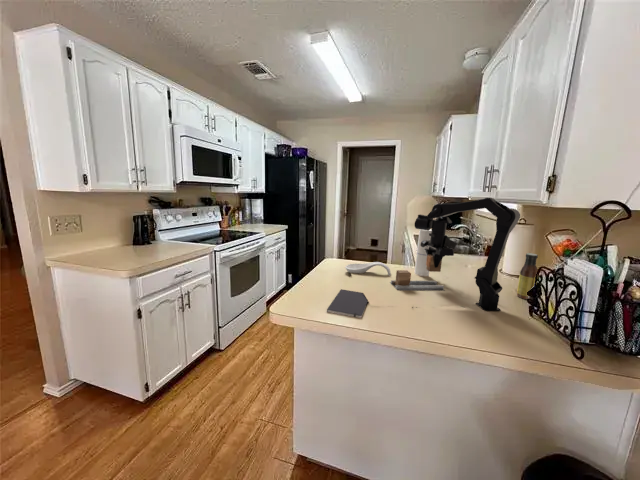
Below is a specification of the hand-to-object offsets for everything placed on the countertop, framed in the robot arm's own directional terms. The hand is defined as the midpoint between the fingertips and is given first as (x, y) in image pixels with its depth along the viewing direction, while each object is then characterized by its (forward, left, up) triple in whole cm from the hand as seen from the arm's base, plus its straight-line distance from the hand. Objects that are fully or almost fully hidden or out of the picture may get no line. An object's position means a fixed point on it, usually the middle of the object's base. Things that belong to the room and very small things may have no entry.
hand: (433, 266), depth 125 cm
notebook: (-15, +41, -12) cm, 45 cm away
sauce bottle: (-9, -39, -11) cm, 42 cm away
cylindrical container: (+18, -4, -11) cm, 22 cm away
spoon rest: (+21, +24, -12) cm, 34 cm away
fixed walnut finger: (0, +14, -10) cm, 17 cm away
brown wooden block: (0, 0, -2) cm, 2 cm away
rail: (0, +7, -11) cm, 13 cm away
